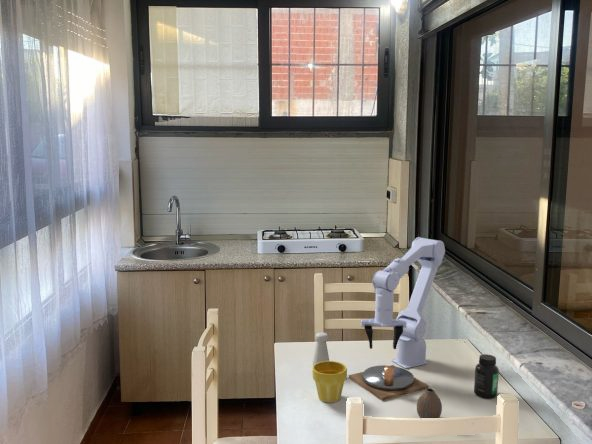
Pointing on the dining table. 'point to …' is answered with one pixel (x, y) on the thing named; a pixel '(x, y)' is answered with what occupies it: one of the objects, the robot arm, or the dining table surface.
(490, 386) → the supplement bottle
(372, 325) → the robot arm
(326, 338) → the salt shaker
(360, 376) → the base
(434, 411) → the vase
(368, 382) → the crank wheel
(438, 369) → the dining table surface
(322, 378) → the plant pot
